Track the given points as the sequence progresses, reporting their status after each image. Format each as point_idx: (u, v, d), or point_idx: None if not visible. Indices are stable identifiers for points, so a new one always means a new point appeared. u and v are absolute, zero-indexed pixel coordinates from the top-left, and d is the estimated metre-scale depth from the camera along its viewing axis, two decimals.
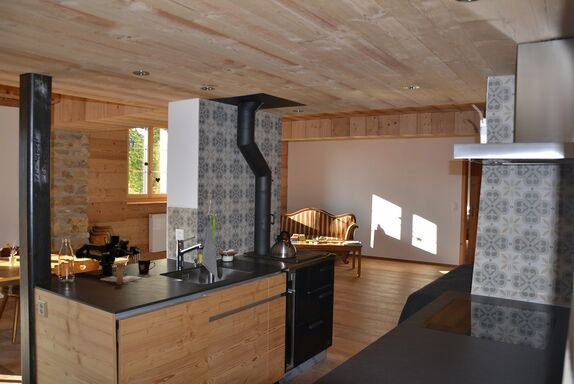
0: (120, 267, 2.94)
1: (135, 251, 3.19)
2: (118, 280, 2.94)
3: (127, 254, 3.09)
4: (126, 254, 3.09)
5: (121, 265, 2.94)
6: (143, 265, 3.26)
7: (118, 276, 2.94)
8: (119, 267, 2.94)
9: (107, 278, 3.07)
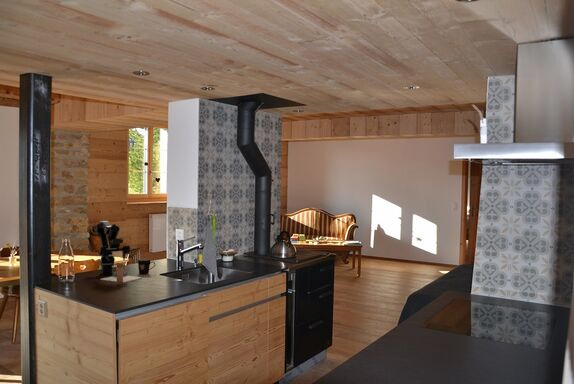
0: (120, 267, 2.94)
1: (123, 254, 3.07)
2: (118, 280, 2.94)
3: (107, 259, 3.00)
4: (107, 258, 3.00)
5: (121, 265, 2.94)
6: (143, 265, 3.26)
7: (118, 276, 2.94)
8: (119, 267, 2.94)
9: (107, 278, 3.07)
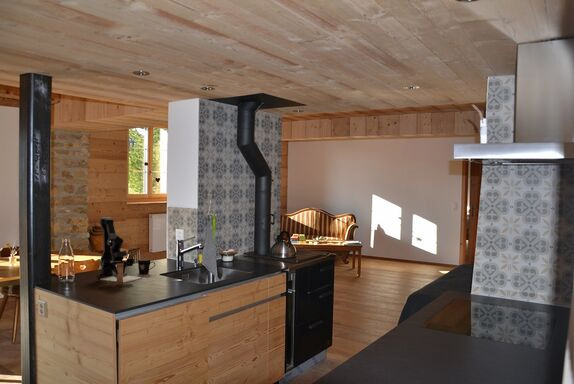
0: (120, 267, 2.94)
1: (123, 267, 2.98)
2: (118, 280, 2.94)
3: (115, 272, 2.94)
4: (114, 271, 2.94)
5: (121, 265, 2.94)
6: (143, 265, 3.26)
7: (118, 276, 2.94)
8: (119, 267, 2.94)
9: (107, 278, 3.07)
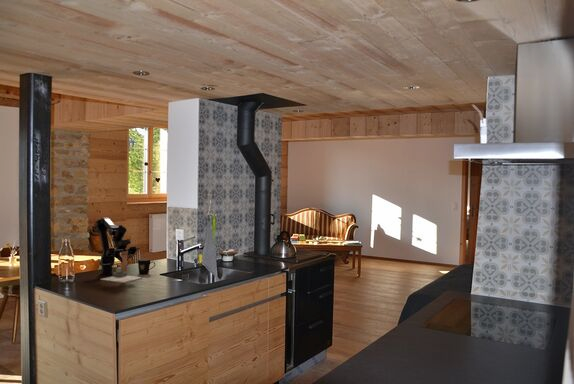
0: (125, 255, 3.00)
1: None
2: (123, 268, 3.00)
3: (120, 260, 3.00)
4: (119, 259, 3.00)
5: (126, 253, 3.00)
6: (143, 265, 3.26)
7: (123, 264, 3.00)
8: (124, 255, 3.00)
9: (107, 278, 3.07)
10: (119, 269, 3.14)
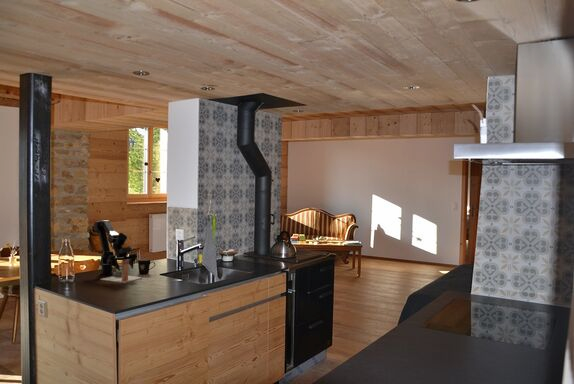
0: (126, 264, 3.02)
1: (131, 263, 3.08)
2: (124, 276, 3.02)
3: (117, 268, 3.00)
4: (116, 267, 3.00)
5: (127, 262, 3.02)
6: (143, 265, 3.26)
7: (124, 272, 3.01)
8: (125, 264, 3.01)
9: (107, 278, 3.07)
10: None
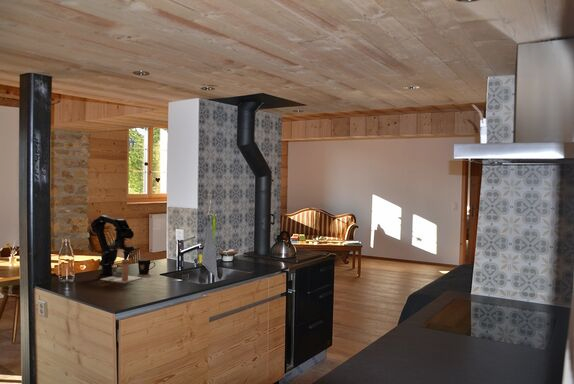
0: (126, 264, 3.02)
1: None
2: (124, 276, 3.02)
3: None
4: None
5: (127, 262, 3.02)
6: (143, 265, 3.26)
7: (124, 272, 3.01)
8: (125, 264, 3.01)
9: (107, 278, 3.07)
10: (119, 269, 3.14)
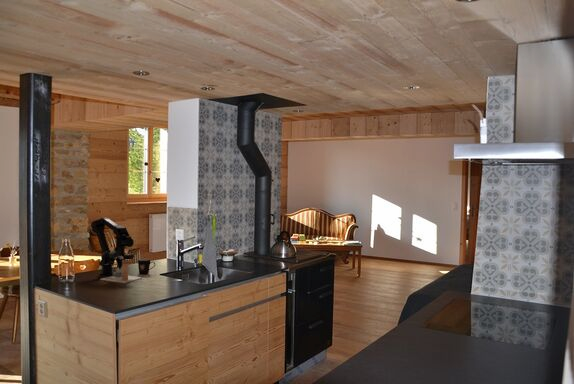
0: (126, 264, 3.02)
1: None
2: (124, 276, 3.02)
3: None
4: None
5: (127, 262, 3.02)
6: (143, 265, 3.26)
7: (124, 272, 3.02)
8: (125, 264, 3.02)
9: (107, 278, 3.07)
10: (119, 270, 3.14)
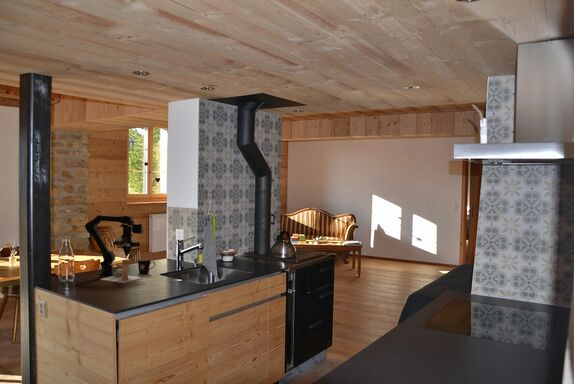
0: (126, 264, 3.02)
1: None
2: (124, 276, 3.02)
3: None
4: None
5: (127, 262, 3.02)
6: (143, 265, 3.26)
7: (124, 272, 3.02)
8: (125, 264, 3.01)
9: (107, 278, 3.07)
10: (119, 271, 3.14)
